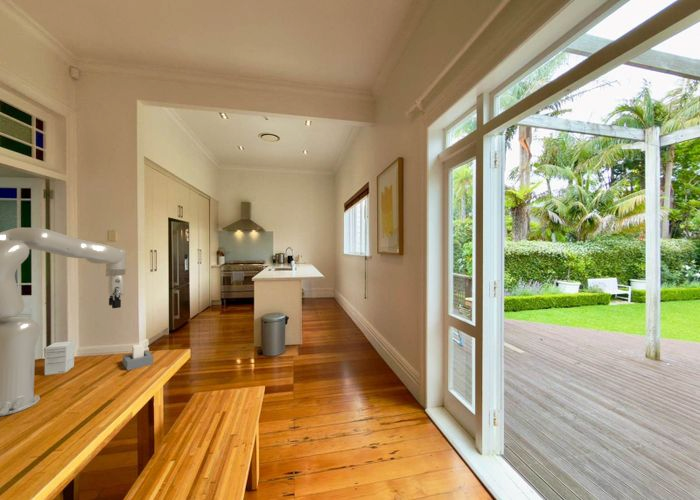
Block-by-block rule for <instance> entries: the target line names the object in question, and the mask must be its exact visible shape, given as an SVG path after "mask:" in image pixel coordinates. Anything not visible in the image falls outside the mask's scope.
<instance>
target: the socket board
mask: <svg viewBox="0 0 700 500" xmlns="http://www.w3.org/2000/svg"><path fill="white" fill-rule="evenodd" d="M121 363H122V365H123V366H124V368H125V370H127V371H130V370H134V369H135V370H136V369H138V368H139V369H140V368H143V367H146V366H150V365H154V355H153V354H152V353H151V352H150V351H149V350H148V349H146V350H145V349H144V356H143V357H139V358H135V359H132V352H131V353H128V354H122V361H121Z"/></svg>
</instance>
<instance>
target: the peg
mask: <svg viewBox="0 0 700 500" xmlns="http://www.w3.org/2000/svg"><path fill="white" fill-rule="evenodd" d="M131 351H132V352H131V353H132V359H135V358H139V357H143V356H144V351H145V346H144V344H143V343H140V344H133V345H132V350H131Z"/></svg>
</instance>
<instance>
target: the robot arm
mask: <svg viewBox="0 0 700 500" xmlns="http://www.w3.org/2000/svg"><path fill="white" fill-rule="evenodd" d="M30 250H35V251H40V252H44V253H45V252H46V253H51V254H54V255H58V256H61V257H67V258H74V259H75V258H76V259H85V260H86V261H87V262H89V263H91V264H98V265H99V264H103V265H104V264H105V277H108V283H107V284H108V286H107V287H108V295H109V298H108V306H110V307H111V308H112V309H120V308H121V306H122V303H121V302H122V300H121V299H122V298H121V297H122V296H123V295H124V294H125V293H124V291H125V288H124V285H125V282H124V276H126V264H127V251H126V249H123V248H117V247H116V246H115V247H114V246H112V245H108V244H104V243H99V242H96V241H90V240H86V239H81V238H77V237H74V236H71V235H67V234H63V233H60V232H57V231H55V230H51V229H47V228H43V227H16V228H14V227H13V228H11V229H7V230H4V231H1V232H0V417H4V416H9V415H11V414H14V413H15V414H16V413H18V412H21V411H24V410H26V409H28V408H30V407H33V406H34V405H36V404H38V402H39V401H41V400H40V395H38V394H34V393H35V392H34V390H35V370H36V369H35V365H36V364H35V363H36V347H37V342H38V339H39V336H40V332H41V327H40V324H39V323H38V322H37V321H35V320H33V319H30V318H21V317H20V318H19V317H17V316H18V315H21V314H22V312H23V311H24V308H25V302H24V299H23V297H22V294H21V292H20V289H19V287H18V284H17V281H16V277H15V276H16V273H17V272H16V271H17V270H18V268H19V267H20V266H21V265H22V264H23V263H24V262H25V261H26V260H27V258H29V255H30ZM16 317H17V318H16Z"/></svg>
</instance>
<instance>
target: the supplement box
mask: <svg viewBox="0 0 700 500" xmlns="http://www.w3.org/2000/svg"><path fill="white" fill-rule="evenodd" d="M44 352H45V353H44V376H50V375H58V374H59V375H60V374H65V373H67V372H68V371H70V370H71V369H72V368H74V367H75V341H74V340H69V341H59V342H54V343H52V344H50V345H48V346H45V347H44Z"/></svg>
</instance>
